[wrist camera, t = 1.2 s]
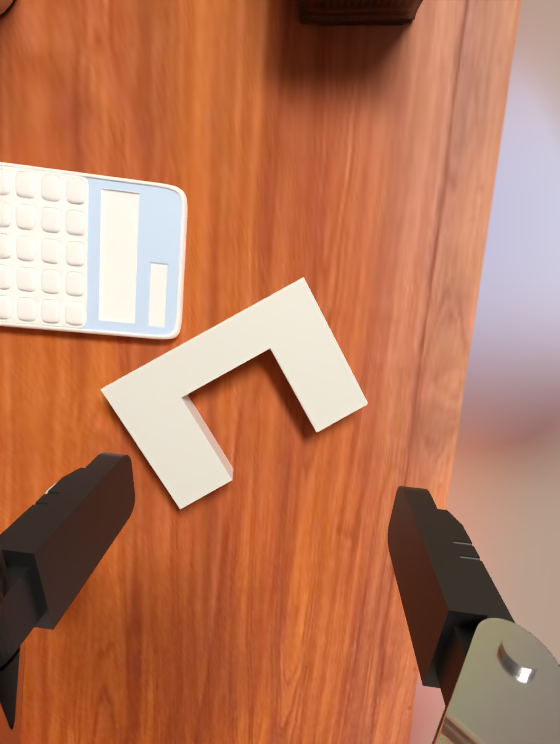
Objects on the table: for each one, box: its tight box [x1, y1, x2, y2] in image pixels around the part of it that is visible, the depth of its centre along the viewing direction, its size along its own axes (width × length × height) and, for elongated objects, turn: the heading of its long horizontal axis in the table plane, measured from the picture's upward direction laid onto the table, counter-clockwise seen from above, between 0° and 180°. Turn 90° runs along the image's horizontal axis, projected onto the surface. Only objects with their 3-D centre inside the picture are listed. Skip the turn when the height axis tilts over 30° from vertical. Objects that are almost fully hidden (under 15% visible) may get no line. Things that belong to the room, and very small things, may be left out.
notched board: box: [101, 277, 368, 509], centre depth 32 cm, size 13×20×2 cm, turn 119°
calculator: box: [0, 162, 187, 339], centre depth 29 cm, size 13×20×2 cm, turn 85°
